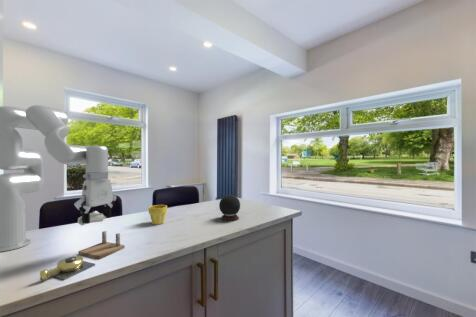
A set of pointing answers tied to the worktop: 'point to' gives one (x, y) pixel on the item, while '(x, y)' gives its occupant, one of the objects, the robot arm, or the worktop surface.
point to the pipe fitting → (93, 218)
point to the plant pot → (158, 214)
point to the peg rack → (102, 248)
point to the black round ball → (229, 208)
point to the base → (69, 274)
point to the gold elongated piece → (63, 267)
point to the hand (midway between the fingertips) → (97, 219)
